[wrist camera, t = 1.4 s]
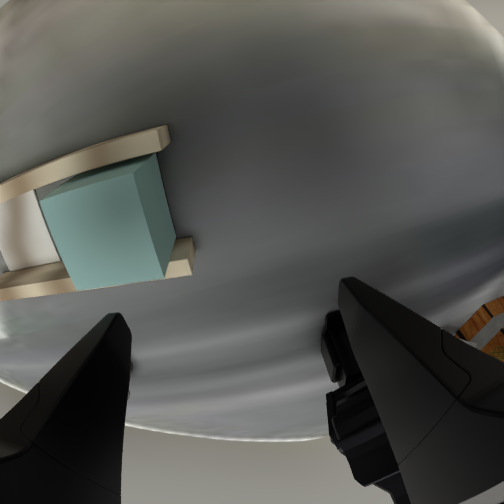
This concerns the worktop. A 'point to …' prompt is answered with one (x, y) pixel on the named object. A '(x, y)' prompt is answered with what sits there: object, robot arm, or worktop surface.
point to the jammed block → (112, 224)
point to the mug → (486, 329)
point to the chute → (35, 227)
